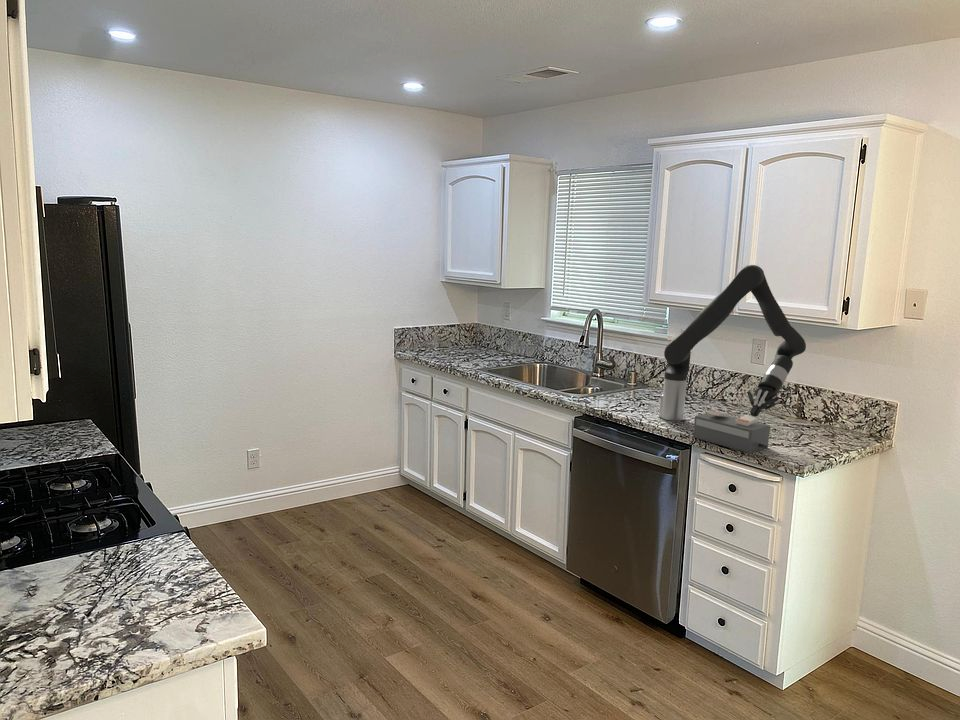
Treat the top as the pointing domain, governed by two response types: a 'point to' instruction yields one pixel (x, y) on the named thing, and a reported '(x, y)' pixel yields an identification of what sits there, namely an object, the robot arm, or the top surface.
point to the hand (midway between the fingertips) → (753, 415)
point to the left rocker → (718, 413)
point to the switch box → (731, 432)
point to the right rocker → (746, 420)
